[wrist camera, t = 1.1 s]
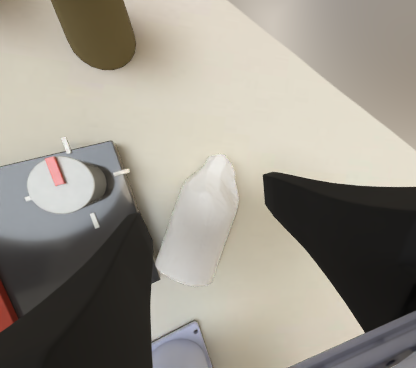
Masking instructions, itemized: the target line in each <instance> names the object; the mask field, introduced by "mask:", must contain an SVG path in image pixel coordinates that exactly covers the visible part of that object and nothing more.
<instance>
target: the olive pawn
mask: <svg viewBox="0 0 416 368" xmlns="http://www.w3.org/2000/svg"><path fill="white" fill-rule="evenodd" d="M51 2H52V4H53V7H54V9H55V12H56V14H57V16H58V19H59V21H60V23H61V26H62V28H63V31H64V33H65V35H66V38H67V40H68V42H69V44H70V46H71V48H72V50H73V52H74V53H75V54H76V55H77V56H78V57H79V58H80V59H81V60H82V61H84V62H85V63H87V64H89V65H90V66H92V67H95V68H99V69H102V70H114V69H117V68H120V67H123V66H124V65H126V64H127V63H128V62H129V61H130V60H131V58H132V57H133V55H134V53H135V47H136V41H135V36H134V32H133V29H132V26H131V23H130V20H129V16H128V13H127V10H126V7H125V4H124V1H123V0H51Z"/></svg>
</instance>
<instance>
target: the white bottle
mask: <svg viewBox="0 0 416 368" xmlns="http://www.w3.org/2000/svg"><path fill="white" fill-rule="evenodd" d="M238 203H239V195H238V190H237V186H236V181H235V170H234V168H233V167H232V162H230V161H229V160H228V158H227V157H226V155H224V154H217V155H214V156H210V157H208V158H207V160H206V162H205V164H204V165H203V166H202V167H201V168H200V169H199V170H198V171H197V172H195V173H194V174H192V175H191V176H190V177H188V178H187V179H186V181H185V182H184V183H183V185H182V188H181V191H180V193H179V196H178V198H177V201H176V204H175V207H174V209H173V212H172V215H171V217H170V220H169V223H168V226H167V230H166V232H165V236H164V239H163V242H162V245H161V248H160V251H159V254H158V256H157V259H156V263H155V266H156V268H157V269H158V270H159V271H160V272H161V273H162V274H164V275H165V276H167V277H168V278H170V279H172V280H174V281H177V282H179V283H182V284H185V285H188V286H193V287H194V286H196V287H203V286H207V285H209V284H211V283H212V281H213V278H214V275H215V272H216V269H217V265H218V263H219V260H220V257H221V254H222V251H223V248H224V246H225V243H226V240H227V237H228V234H229V232H230V229H231V226H232V223H233V221H234V218H235V215H236V213H237V209H238Z"/></svg>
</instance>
